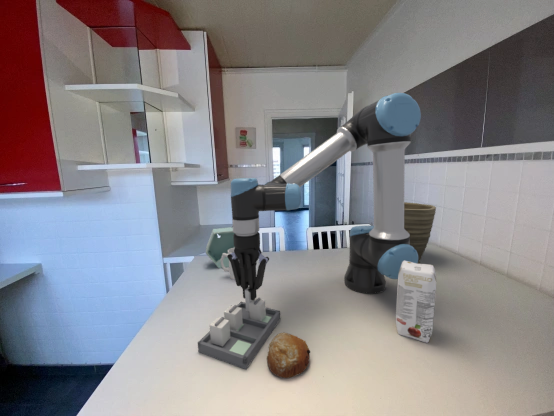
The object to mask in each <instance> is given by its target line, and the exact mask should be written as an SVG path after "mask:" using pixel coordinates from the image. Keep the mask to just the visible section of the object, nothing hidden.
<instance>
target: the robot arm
mask: <svg viewBox="0 0 554 416" xmlns="http://www.w3.org/2000/svg"><path fill="white" fill-rule="evenodd" d="M421 118H422V112H421V108H420V106H419V104H418V102H417V101H416V99H414V98H413V97H412V96H411V95H409V94H407V93H404V92H395V93H391V94H389V95H385V96H382V97H381V98H379V100H376V101H375V102H372V103H371V104H369V105H366V106H364V107H363V108H361V109H360V110H359V111H358V112H357V113H355V114H354V115H353V116H352V117H351V118H350V119H348V120H347V121H346V122H345V123H343V124H342V125H341V126H339V127H338V129H336V133H335V134H334V135H332V136H331V137H330V138H328V139H326V140H325V141H324V142H323V143H321V144H320V145H318V146H317V147H316V148H314V149H313V150H312V151H311V152H309V153H307V154H306V155H305V156H303V157H302V158H300V160H298V161H296V162H295V163H294V164H293V165H291V166H289V167H288V168H287V169H286V170H284V171H283V172H281V173H280V174H279V175H277V176H276V177H275V178H274V179H272V180H271V181H270V180H269V181H267V182H266V183H265V184H259V183H258V178H256V177H242V178H241V177H239V178H233V179H232V180H231V181H230V201H231V202H230V205H231V218H232V227H233V232H234V233H235V234H234V235H233V239H234V247H235V249H234V252H232V253H231V254H229V255H228V256H227V257H228V259H229V261H230V262H231V266H232V270H233V273H234V277H235V280H234V281H235V284H236V286H237V287H240V288H241V289H242V298H243V299H245V303H246V311H249V303H250V302H251V301H252V300H255V299H256V298H257V291H258V290H259V289H260V288H261V287H262V286H263V281H264V277H265V271H266V266H267V264H268V262H269V261H270V258H269V256H265V255H263V254H262V250H261V248H260V247H261V234H260V232H259V231H260V212H270V211H271V212H272V211H273V212H274V211H291V210H297V209H299V208H300V207H301V203H302V192H301V187H302V186H304V185H305V184H306V183H308V182H309V181H310V180H312V179H314V178H315V177H316V176H317V175H319V174H320V173H321V172H323V171H324V170H326V169H327V168H328V167H330V166H332V165H333V164H334V163H335V162H336V161H337V160H339V159H340V158H342V157H343V156H345V155H346V154H347V153H349V152H355V151H357V150H358V149H359V148H361V147H363V146H365V145H367V147H366V148H367V149H369V150H370V151H371V152H372V172H373V173H372V179H373V180H372V181H373V182H372V183H373V184H372V185H373V188H372V189H373V225H356V226H352V227H351V228H350V232H349V256H348V257H349V260H348V261H349V264H348V266H347V269H346V271H345V274H344V278H343V279H344V280H343V281H344V284H345V286H346V287H347V288H349V289H350V290H352V291H354V292H359V293H360V294H361V293H362V294H370V295H371V294H380V293H382V292H384V291H385V290H386V288H387V280H386V277H387V278H389V279H392V280H398V274H399V270H400V267H401V264H402V262H403V261H404V260H405V261H409V262H413V263H418V253H417V251H416V250H415V249H414V248H413V246H410V234H409V233H408V232H407V231H406V230H405V229H404V202H405V161H406V160H405V155H406V153H405V150H406V148H407V147H408V146H409V145H410V144H411V143H412V141H411V140H412V139H411V137H412V136H411V135H412V133H414V132H415V130H417V127H419V125H420V123H421V120H422V119H421ZM257 263H258V267H257Z"/></svg>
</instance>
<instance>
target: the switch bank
mask: <svg viewBox="0 0 554 416" xmlns="http://www.w3.org/2000/svg"><path fill="white" fill-rule="evenodd" d="M236 305H237V307H240V308H242V321H243V324H242V325H241V327H240V328H239V329H238V330H237V331H236V330H232V329H230V339H229V340H228V341H227V342H226V343H225V344H224V346H223V347H222V346H219V345H216V344H213V343H211V337H210V330H209V331H208V332H207V333H206V334H205V335H204V336H203V337H202V338H201V339H200V340H198V341H197V350H198V352H199V353H200V354H203V355H206V356H208V357H212V358H214V359H217V360H219V361H223V362H225V363H228V364H231V365H233V366H235V367H238V368H241V369H244V370H247V369H248V367H249V366H250V364H251V363H252V361H253V360H254V358H255V357H256V356H257V354H258V353H259V351H260V350H261V348H262V347H263V345H264V344H265V342H266V341H267V339H268V338H269V337H270V335H271V334H272V332H273V331H274V329H275V328H276V326H277V325H278V323H279V322H280V320H281V310H278V309H274V308H271V307H270V308H269V307H266V316H265V317H264V319H263V320H262V321H258V320H254V319H251V318H250V314H249V311H246V303H245V302H244V301H240V302H239V303H237V304H236Z"/></svg>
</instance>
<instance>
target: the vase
mask: <svg viewBox="0 0 554 416" xmlns="http://www.w3.org/2000/svg"><path fill="white" fill-rule="evenodd" d="M436 209H437V206H435V205H432V204H425V203H417V202H407V201H404V229H405V230H406V231H407V232H408V233H409V234H410V246H413V248H414V249H415V250H416V251H417V253H418V263H417V264H421V260H422V257H423V254H424V252H425V251H426V249H427V245H428V243H429V241H430V237H431V232H432V228H433V223H434V221H435V216H436V212H437V211H436Z"/></svg>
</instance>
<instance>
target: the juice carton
mask: <svg viewBox="0 0 554 416" xmlns="http://www.w3.org/2000/svg"><path fill="white" fill-rule="evenodd" d="M436 275H437V274H436V269H435V266H434V265H433V264H427V263H420V264H417V263H413V262H409V261H405V260H404V261H403V262H402V264H401V267H400V270H399V274H398V279H397V289H396V290H397V291H396V293H397V294H396V306H395V307H396V308H395V309H396V310H395V327H396V331H397V334H398V335H400V336H402V337H407V338H410V339H414V340H416V341H420V342H423V343H427V344H428V343H429V341H430V338H431V337H432V335H433V330H434V329H433V327H434V316H435V315H434V314H435V304H436V294H437V291H436V290H437V276H436Z"/></svg>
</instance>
